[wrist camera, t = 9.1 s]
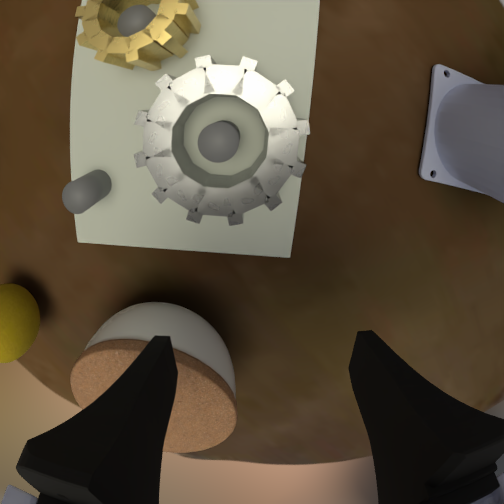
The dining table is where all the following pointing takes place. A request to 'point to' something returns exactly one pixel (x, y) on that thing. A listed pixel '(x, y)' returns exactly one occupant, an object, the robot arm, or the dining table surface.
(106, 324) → the lidded jar
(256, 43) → the gear board
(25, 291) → the lemon
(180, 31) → the brass gear
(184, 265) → the dining table surface
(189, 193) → the gear
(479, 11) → the dining table surface
